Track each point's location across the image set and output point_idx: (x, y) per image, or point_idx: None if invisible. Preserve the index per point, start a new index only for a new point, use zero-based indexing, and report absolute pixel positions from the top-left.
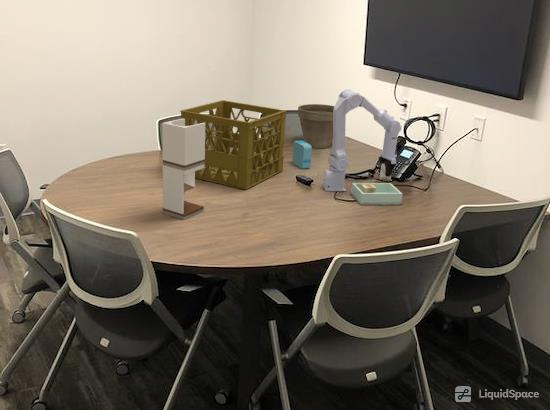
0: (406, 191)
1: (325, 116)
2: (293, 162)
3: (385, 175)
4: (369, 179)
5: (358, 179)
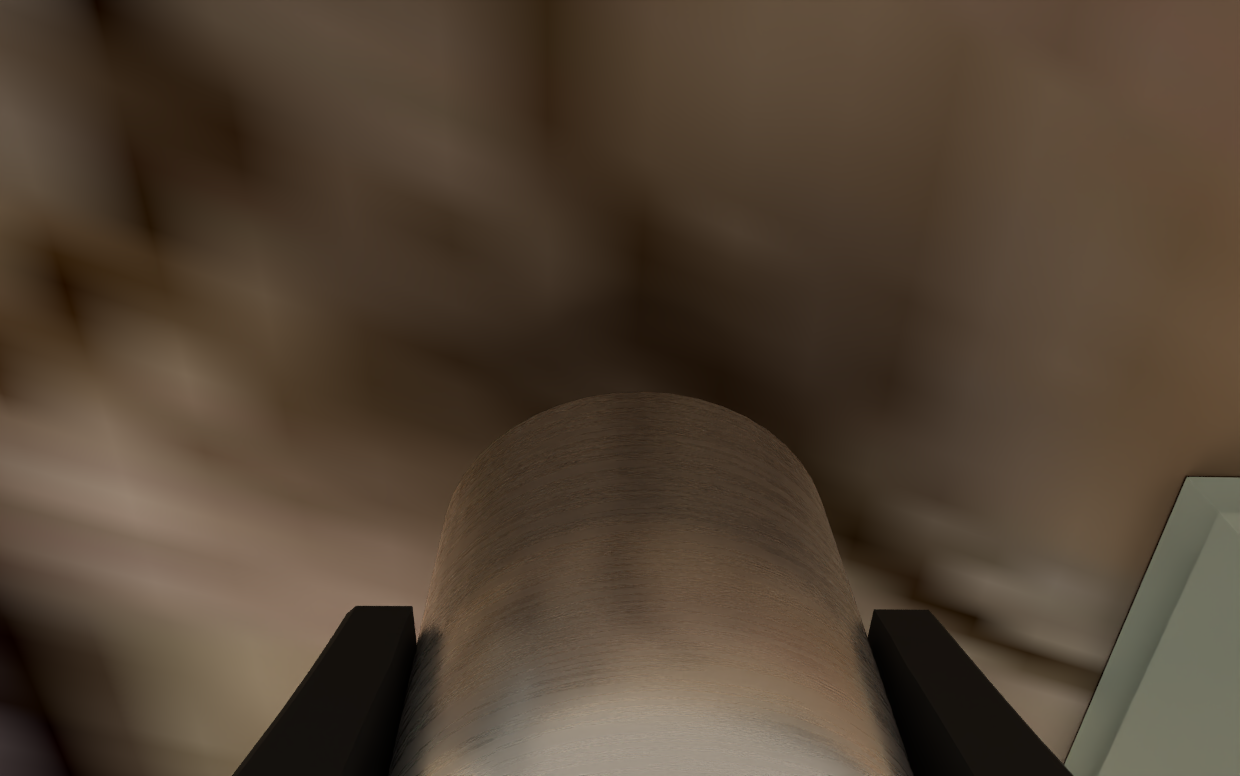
0: None
1: None
2: None
3: None
4: (56, 554)
5: (130, 754)
